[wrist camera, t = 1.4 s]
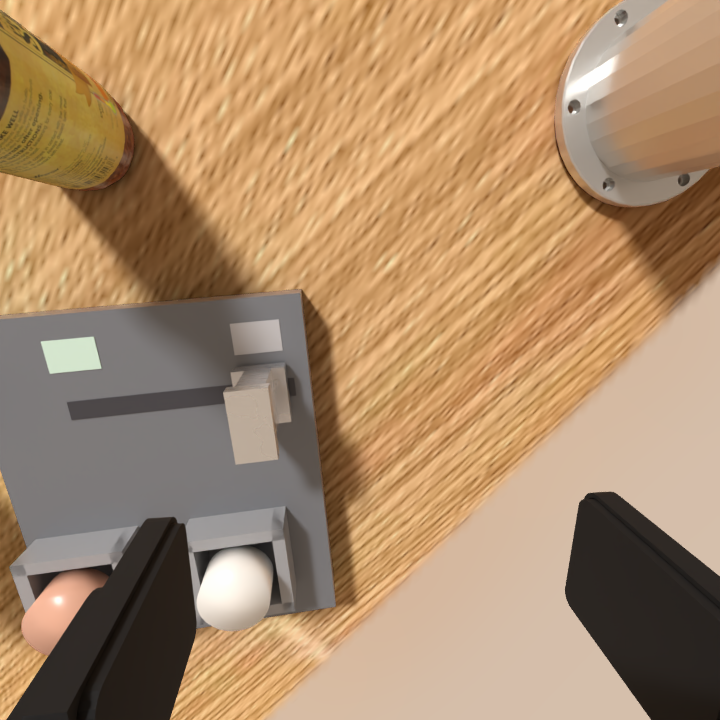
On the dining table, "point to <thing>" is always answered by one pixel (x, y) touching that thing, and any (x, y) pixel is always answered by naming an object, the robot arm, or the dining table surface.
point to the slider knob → (257, 410)
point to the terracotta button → (59, 606)
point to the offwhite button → (236, 588)
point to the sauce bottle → (57, 117)
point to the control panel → (159, 440)
